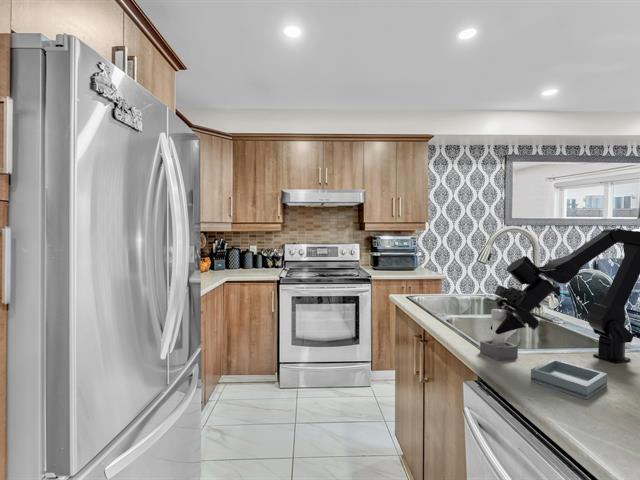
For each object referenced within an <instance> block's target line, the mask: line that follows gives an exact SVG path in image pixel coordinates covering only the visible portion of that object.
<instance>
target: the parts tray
mask: <svg viewBox="0 0 640 480" xmlns="http://www.w3.org/2000/svg"><path fill="white" fill-rule="evenodd" d="M530 381H531V382H533V383H536V384H540V385H542V386H545V387H548V388H552V389H554V390H556V391H560V392H563V393H567V394H570V395H572V396H575V397H578V398H581V399H584V400H589V399H590V398H591V397H593V396H594V395H596V394H597V393H599V392H600V391H602V390H603V389H604V388H605V387H607V386H608V373H606V372H603V371H598V370H596V369H592V368H588V367H585V366H581V365H577V364H574V363H570V362H565V361H562V360H558V359H555V358H552V359H550V360H547V361H545V362H543V363H541V364H539V365H537V366H535V367H533V368H531V369H530Z"/></svg>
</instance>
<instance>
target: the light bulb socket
mask: <svg viewBox="0 0 640 480" xmlns="http://www.w3.org/2000/svg"><path fill="white" fill-rule="evenodd" d="M491 343H492V339H486V340H481V341H480V343H479V353H480V354H483V355H485V356H487V357H489V358H490V359H491V358H492V359H494V360H496V361H504V360H505V361H506V360H510V359H511V360H512V359H517V358H518V357H519V355H518V353H519V350H518V347H519V346H518V345H517V344H513V343H511V342H509V341H506V340H505V345H506V346H505V347H496V346H494V345H491Z"/></svg>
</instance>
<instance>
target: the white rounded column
mask: <svg viewBox="0 0 640 480" xmlns="http://www.w3.org/2000/svg"><path fill="white" fill-rule="evenodd" d="M490 315H491V316H490V317H491V319H492V324H493V325H492V324H491V326H492V330H491V331H492V333H491V334H492V335H491V336H492V337H491V340H492V343H491V345H494V346H496V347H505V346H506V345H505V341H506V332H505V333H501V334H497V333H495V331H496V330H497V328H498V327H499V326H500V325H501V323H502V322H503V321H504V320H505V319H506V310H503V309H498V308H492V309H491V314H490Z"/></svg>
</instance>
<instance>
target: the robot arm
mask: <svg viewBox="0 0 640 480" xmlns="http://www.w3.org/2000/svg"><path fill="white" fill-rule="evenodd" d="M617 243H618V244H623V245H622V247H623V248H622V249H623V258H622V261H621V263H620V265H619V266H618V269H617V271H616V274H615V275H614V278H613V279H612V282H611V284H610V287H609V289H608V291H607V293H606V295H605V297H604V299H603V300H602V301H601V302H599V303H596V302H593V303H592V304H591V307H590V309H589V310H588V311H589V312H587V314H586V315H587V323H588V325H589V326H590V327H591V328H592V330H593V333H594V334H596V335H599V337H598V343H597V344H598V346H597V347H598V349H597V353H593V354H592V356H593V357H596V358H599V359H602V360H606V361H608V362H610V363H611V362H612V363H614V364H620V363H624V362H630V361H631V360H632V359H631V358H630V357H628V356H627V357H626V344H627V343H632V341H633V339H634V336H635V335H634V334H633V333H631V331H630V330H629V329H627V327H626V326H625V324H626V319H627V317H626V311H625V307H626V305H627V302H628V300H629V298H630V297H631V295H632V292H633V290H634V288H635V286H636V283H637V281H638V279H639V278H640V228H639V229H637V228H635V229H632V230H630V229H629V230H627V229H622V228H620V227H619V228H617V227H613V228H612V227H608V228H607V227H606V228H605V229H603V230H602V231H601V232H600V233H599V234H597V235H596V236H594V237H593V238H591V239H590V240H588V241H586V242H585V243H584V244H582V245H581V246H579V247H578V248H577V249H575V250H573V251H572V252H570V253H569V254H567V255H565V256H561V257H558V258H556V259H554V260H552V261H549V262H547V263H545V265H543V266H542V265H541V266H537V265H535V263H534V262H533V261H532V260H531V259H530V258H529V257H528V256H525V255H523V256H522V257H520V258H518V259H516V260H514V261H512V262H511V263H510V264H509V265H508V267H507V268H506V271H507V273H509V274H510V275H511V276H512V277H513V278H514V279H515V280H516V281H517V282H518V283H519V284H520V285H527V286H525V288H523V289H522V290H521V289H518V288H515V287H513V286H509V287H505V286H504V285H503V286H502V285H500V284H498V285H497V287H496V289H495V291H494V295H495V296H497V297H496V298H495V299H494V300H493V302H494V303H495V305H496V307H497V309H503V310H506V319H505V320H504V321H503V322H502V323H501V325H500V326H499V327H498V328H497V330H496V331H495V333H497V334H501V333H505V334H506V333H509V332H512V331H514V330H519V329H526V325H528V328H529V329H531V330H533V331H536V330H537V328H538V327H539V326H540V321H539V320H538V319H537V317H536V316H534V314H532V313H531V312H532V311H534V310H535V309H540V308H542V306H541V303H542V302H544V301H545V299H547V298H548V297H549V296H550V295H551V294H552V295H555V296H557V297H560V296H561V287H560V286H557V285H554V284H553V283H552V282H555V283H557V284H563V285H564V284H568V283H570V282H571V281H572V280H573V279H574V278H575V277H576V276H577V275H578V274H579V272H580V271H581V269H582V267H584V266H585V265H587V264H588V263H589V262H591V261H592V260H594V259H595V258H597V257H599V256H600V255H601V254H602V253H604V252H606V251H607V250H609V249H610V248H612V247H613V246H615V245H616V244H617ZM542 277H544V278H545V279H544V278H542ZM492 325H493V323H492V324H491V325H490V330H491V331H492Z"/></svg>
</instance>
